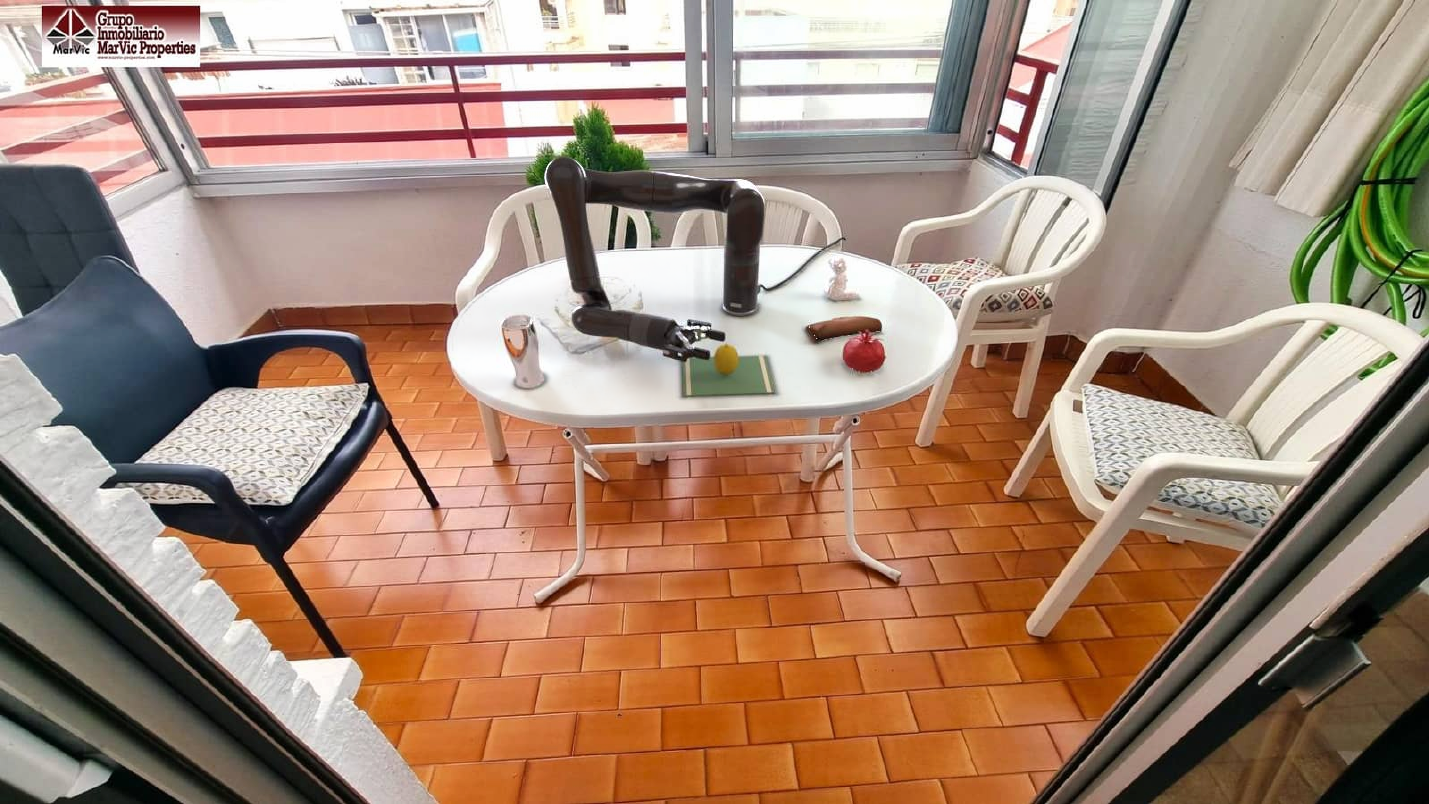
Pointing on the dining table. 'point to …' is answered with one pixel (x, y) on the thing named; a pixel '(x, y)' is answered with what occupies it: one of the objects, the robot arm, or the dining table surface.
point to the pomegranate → (864, 353)
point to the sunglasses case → (843, 327)
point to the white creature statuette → (838, 281)
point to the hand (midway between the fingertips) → (717, 346)
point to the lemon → (726, 359)
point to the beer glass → (523, 349)
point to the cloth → (727, 378)
